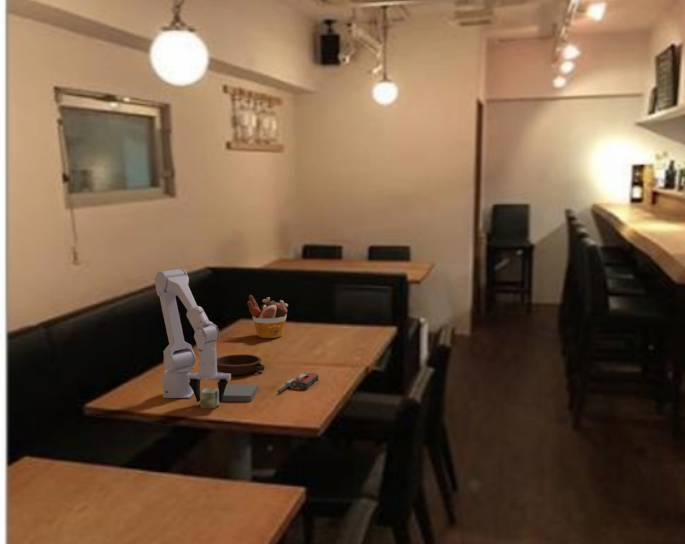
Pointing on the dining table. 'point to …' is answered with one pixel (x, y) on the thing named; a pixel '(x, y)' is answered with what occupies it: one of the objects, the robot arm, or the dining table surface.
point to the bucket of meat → (268, 317)
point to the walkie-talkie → (301, 381)
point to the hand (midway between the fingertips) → (209, 400)
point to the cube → (209, 398)
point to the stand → (240, 392)
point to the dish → (239, 364)
